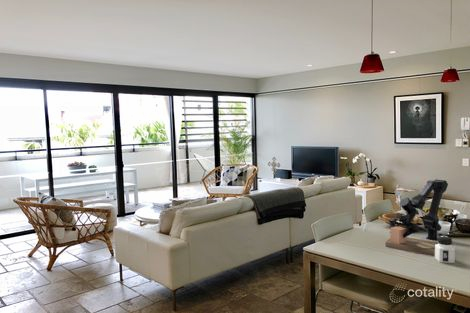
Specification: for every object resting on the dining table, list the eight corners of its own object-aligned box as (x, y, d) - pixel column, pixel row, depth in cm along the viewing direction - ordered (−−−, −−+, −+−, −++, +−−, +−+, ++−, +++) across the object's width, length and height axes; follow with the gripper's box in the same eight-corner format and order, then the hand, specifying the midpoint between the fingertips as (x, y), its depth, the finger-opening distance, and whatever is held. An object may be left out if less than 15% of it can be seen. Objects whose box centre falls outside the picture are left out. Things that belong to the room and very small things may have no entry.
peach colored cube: (397, 239, 230) (397, 226, 230) (406, 242, 225) (406, 228, 224) (390, 241, 227) (390, 227, 227) (399, 243, 222) (399, 230, 221)
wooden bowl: (379, 230, 263) (379, 219, 262) (377, 222, 286) (377, 211, 285) (425, 232, 254) (425, 221, 253) (419, 224, 277) (419, 213, 276)
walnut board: (394, 239, 240) (394, 231, 240) (442, 247, 222) (442, 239, 222) (385, 246, 226) (385, 238, 226) (436, 255, 208) (436, 246, 208)
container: (454, 263, 197) (455, 239, 196) (439, 262, 198) (439, 238, 197) (449, 258, 204) (450, 235, 203) (434, 257, 206) (435, 234, 205)
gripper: (390, 205, 235) (378, 224, 230) (416, 210, 218) (403, 231, 214) (398, 215, 239) (386, 234, 234) (425, 221, 222) (412, 242, 218)
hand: (396, 235), depth 225 cm, fingers open, 9 cm apart
